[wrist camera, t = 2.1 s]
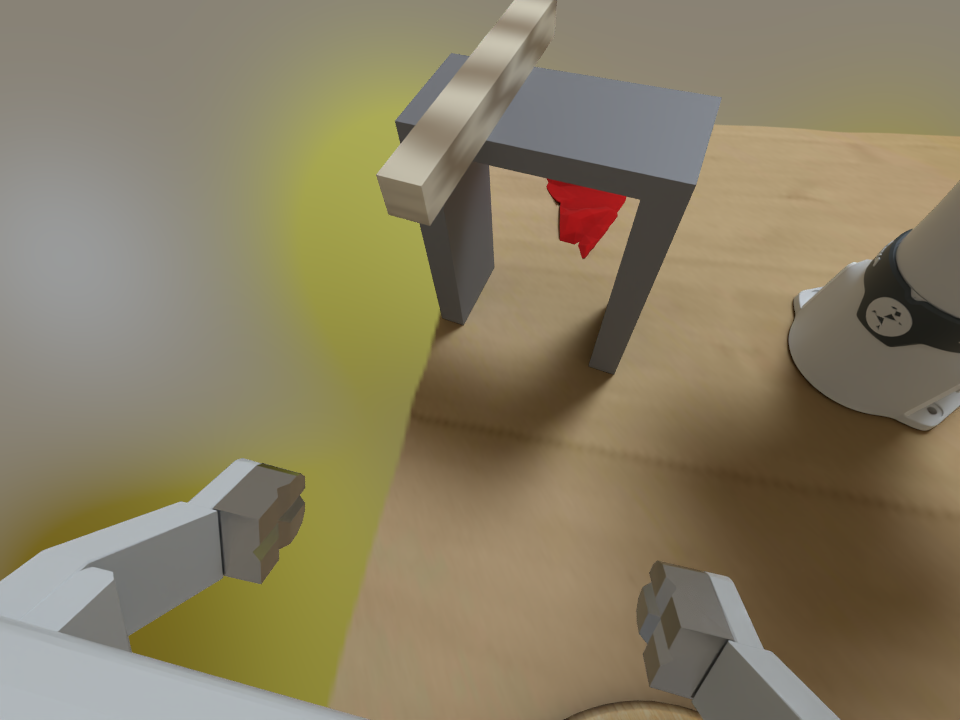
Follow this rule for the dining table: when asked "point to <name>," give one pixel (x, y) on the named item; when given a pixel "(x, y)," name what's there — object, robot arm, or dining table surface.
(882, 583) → the dining table surface
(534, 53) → the maple bar
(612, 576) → the dining table surface
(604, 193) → the cloth
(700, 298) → the dining table surface
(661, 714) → the wooden plate with food
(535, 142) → the grey arch
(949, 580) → the dining table surface
